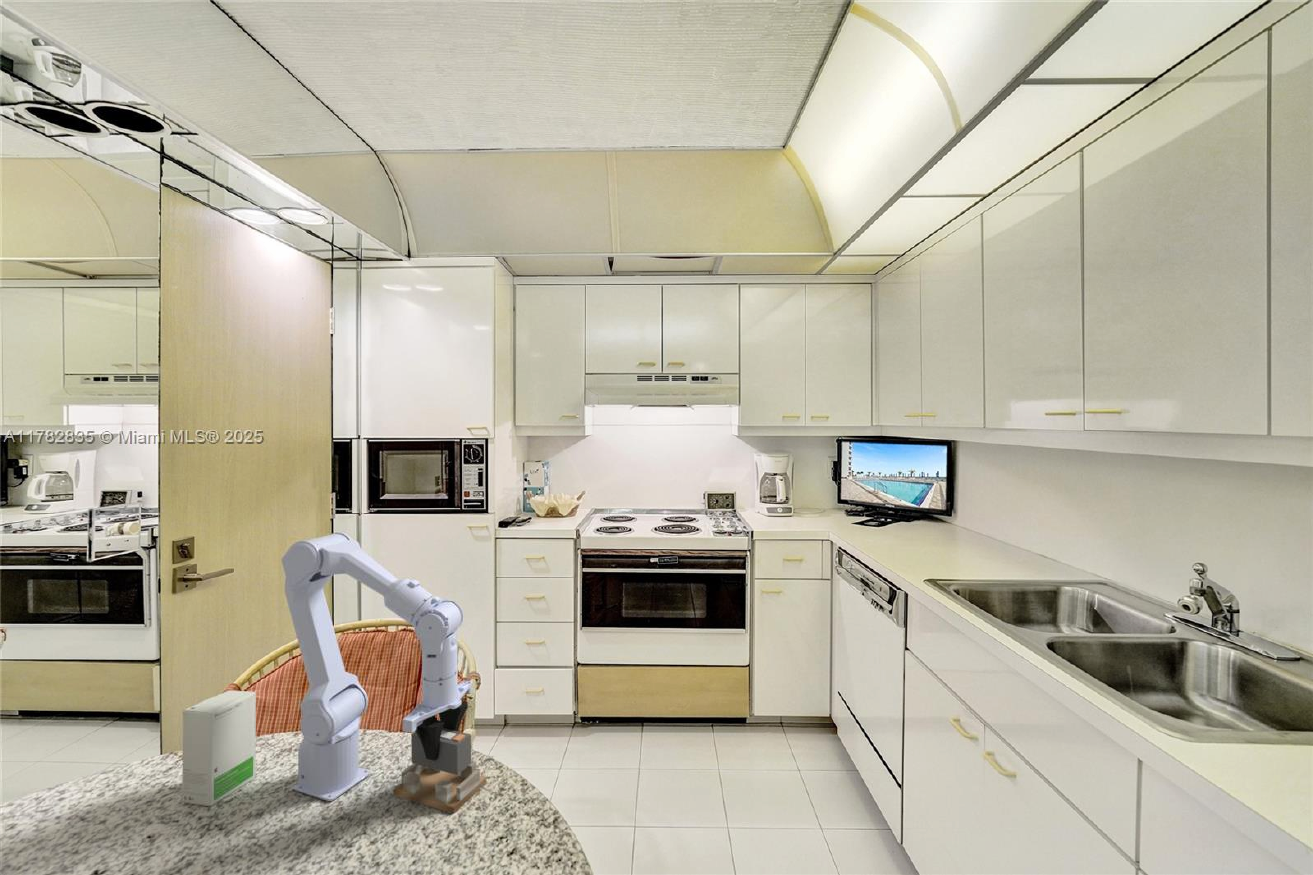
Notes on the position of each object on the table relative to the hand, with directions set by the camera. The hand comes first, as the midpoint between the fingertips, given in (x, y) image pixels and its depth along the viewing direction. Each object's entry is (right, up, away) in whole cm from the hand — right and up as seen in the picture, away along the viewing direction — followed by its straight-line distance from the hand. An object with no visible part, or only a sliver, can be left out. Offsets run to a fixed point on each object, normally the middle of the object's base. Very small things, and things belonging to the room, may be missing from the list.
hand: (440, 752), depth 89 cm
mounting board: (0, -6, 0) cm, 6 cm away
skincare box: (-39, -7, +1) cm, 40 cm away
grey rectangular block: (0, -2, 0) cm, 2 cm away
